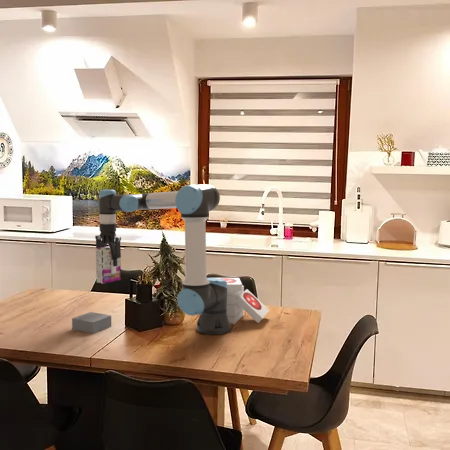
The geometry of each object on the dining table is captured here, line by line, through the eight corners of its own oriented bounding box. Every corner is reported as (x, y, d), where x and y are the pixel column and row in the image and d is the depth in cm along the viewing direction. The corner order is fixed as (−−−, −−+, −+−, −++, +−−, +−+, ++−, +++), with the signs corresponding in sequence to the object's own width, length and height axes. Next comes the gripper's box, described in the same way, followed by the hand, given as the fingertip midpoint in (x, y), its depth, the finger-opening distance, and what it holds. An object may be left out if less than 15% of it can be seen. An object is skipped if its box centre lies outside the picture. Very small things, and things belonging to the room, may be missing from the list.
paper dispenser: (261, 327, 240) (262, 288, 238) (199, 321, 249) (199, 283, 247) (270, 316, 258) (271, 280, 257) (211, 310, 267) (212, 275, 265)
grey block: (111, 326, 239) (111, 315, 238) (93, 333, 228) (93, 322, 228) (90, 322, 244) (90, 311, 244) (72, 329, 234) (72, 318, 233)
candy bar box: (114, 278, 255) (113, 244, 253) (121, 280, 252) (121, 246, 250) (95, 282, 246) (95, 247, 244) (102, 284, 243) (102, 248, 241)
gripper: (128, 223, 245) (129, 272, 247) (97, 221, 253) (98, 269, 256) (118, 224, 238) (119, 275, 241) (86, 222, 247) (87, 271, 249)
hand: (108, 272), depth 248 cm, fingers closed on candy bar box, 5 cm apart
